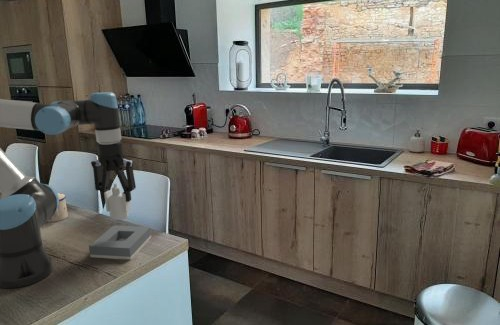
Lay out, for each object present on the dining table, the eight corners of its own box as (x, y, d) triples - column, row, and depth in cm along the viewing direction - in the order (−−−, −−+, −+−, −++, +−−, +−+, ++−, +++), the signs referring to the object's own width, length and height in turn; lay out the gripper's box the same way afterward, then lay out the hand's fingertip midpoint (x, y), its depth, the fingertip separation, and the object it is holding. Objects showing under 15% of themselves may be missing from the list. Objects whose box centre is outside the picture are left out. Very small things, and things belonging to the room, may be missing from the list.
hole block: (130, 259, 122) (129, 248, 121) (90, 257, 124) (88, 246, 123) (151, 237, 137) (150, 227, 136) (115, 235, 140) (113, 225, 139)
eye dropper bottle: (119, 214, 132) (114, 180, 129) (130, 217, 129) (126, 183, 126) (108, 218, 128) (103, 184, 125) (120, 221, 125) (115, 186, 122)
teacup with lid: (43, 217, 159) (38, 190, 156) (67, 212, 164) (62, 186, 161) (45, 227, 149) (40, 198, 146) (70, 221, 154) (66, 194, 151)
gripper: (142, 139, 124) (149, 206, 130) (89, 139, 127) (98, 205, 133) (131, 144, 117) (139, 215, 122) (75, 144, 120) (86, 213, 126)
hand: (118, 210), depth 128 cm, fingers closed on eye dropper bottle, 6 cm apart
